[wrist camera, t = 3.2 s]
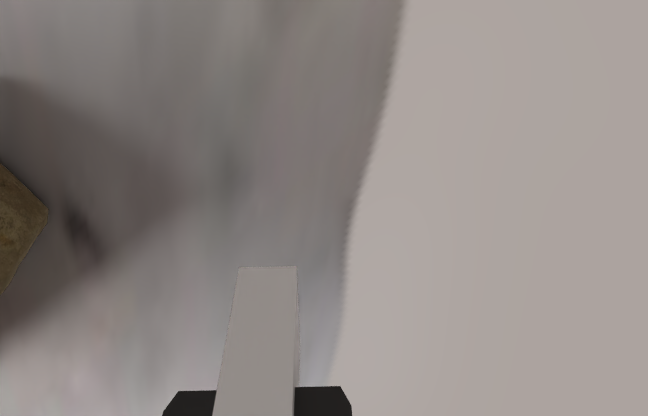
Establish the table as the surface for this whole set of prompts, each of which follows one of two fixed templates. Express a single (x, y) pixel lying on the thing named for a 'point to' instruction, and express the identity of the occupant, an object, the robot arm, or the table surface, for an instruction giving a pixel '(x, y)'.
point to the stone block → (17, 224)
